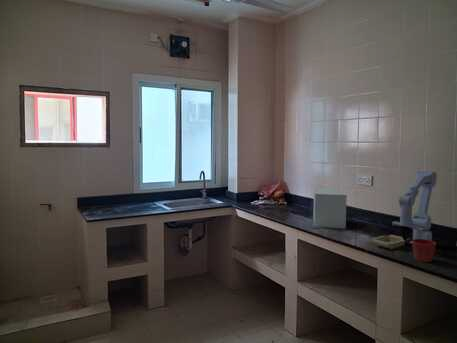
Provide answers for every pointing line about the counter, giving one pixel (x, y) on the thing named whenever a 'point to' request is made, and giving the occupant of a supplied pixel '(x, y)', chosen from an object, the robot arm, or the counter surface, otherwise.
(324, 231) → the counter surface
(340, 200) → the cube
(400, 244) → the carton
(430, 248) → the flower pot
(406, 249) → the counter surface
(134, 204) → the counter surface
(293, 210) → the counter surface
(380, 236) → the flap far
